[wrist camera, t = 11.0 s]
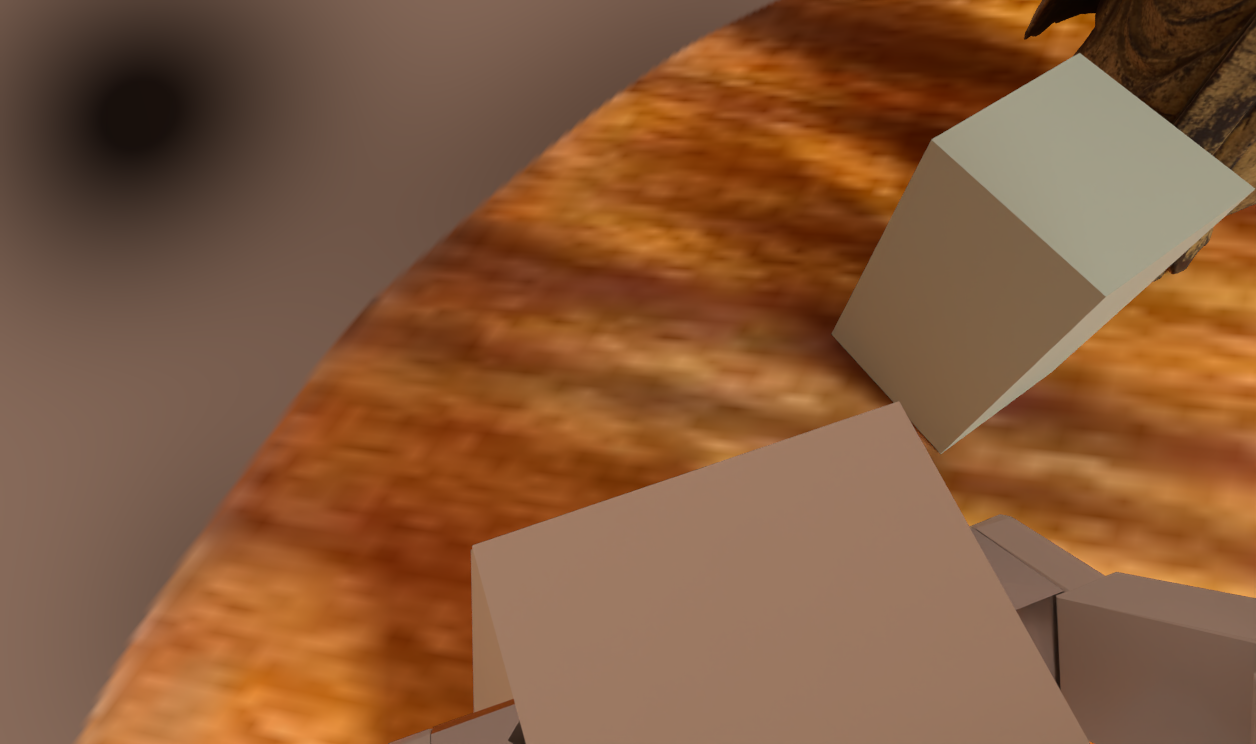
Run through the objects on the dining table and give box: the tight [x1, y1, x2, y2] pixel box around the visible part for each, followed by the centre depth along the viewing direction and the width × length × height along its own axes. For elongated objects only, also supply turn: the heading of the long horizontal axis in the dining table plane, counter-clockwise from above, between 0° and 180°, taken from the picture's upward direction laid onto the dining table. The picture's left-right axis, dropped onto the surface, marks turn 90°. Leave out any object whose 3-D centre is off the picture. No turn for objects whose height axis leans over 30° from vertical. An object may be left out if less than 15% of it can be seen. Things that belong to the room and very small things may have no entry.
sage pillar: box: [831, 53, 1255, 454], centre depth 19 cm, size 4×4×8 cm
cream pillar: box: [472, 401, 1090, 744], centre depth 10 cm, size 4×4×8 cm
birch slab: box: [471, 549, 514, 712], centre depth 17 cm, size 8×8×4 cm
